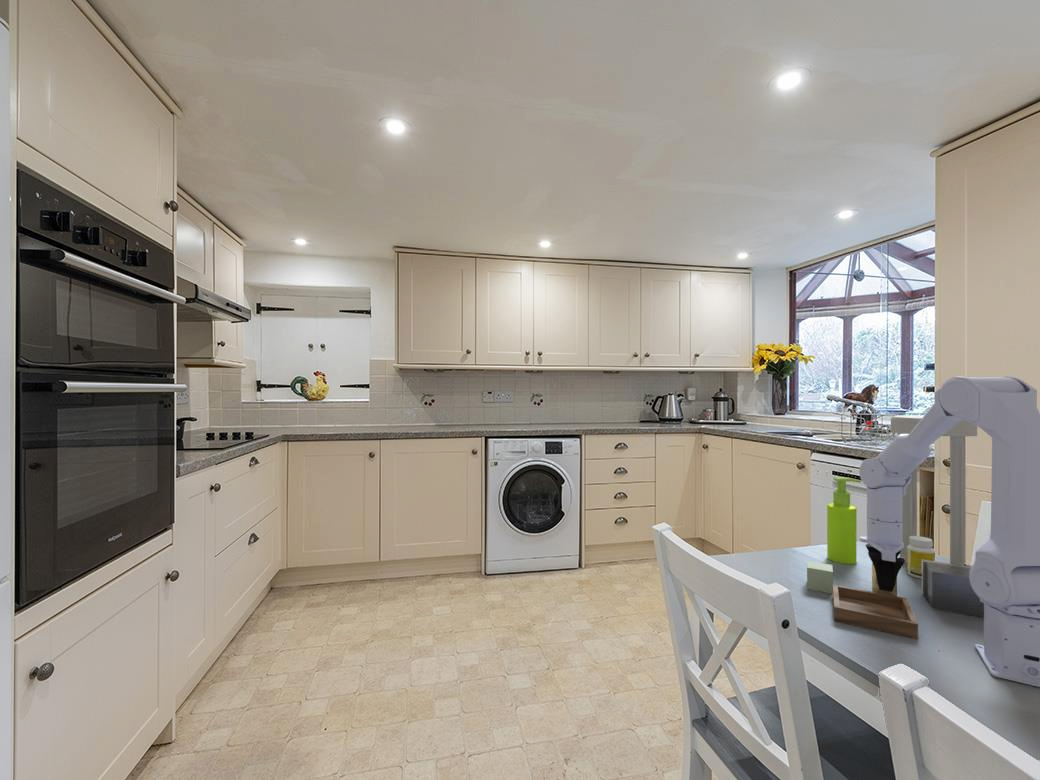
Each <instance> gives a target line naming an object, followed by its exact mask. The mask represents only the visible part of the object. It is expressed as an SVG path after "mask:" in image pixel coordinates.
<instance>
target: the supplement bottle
mask: <svg viewBox="0 0 1040 780" xmlns="http://www.w3.org/2000/svg"><path fill="white" fill-rule="evenodd" d="M933 542H934V541H933V539H931V538H930V537H925V536H920V535H917V536H910V537H909V543H910V544H909V545H908V546H907V563H906V569H907V570H906V573H907V574H908V575H909V576H911V577H913V578H916V579H919V580H922V560H929V561H936V551H935V549H934V548H933V546H934V544H933Z"/></svg>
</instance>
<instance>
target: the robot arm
mask: <svg viewBox="0 0 1040 780" xmlns="http://www.w3.org/2000/svg"><path fill="white" fill-rule="evenodd" d="M923 415H924V417H923V418H922V419H921V420H920V421H919V423H918V424H917V425H916V426H915V428H914V429H913V430H912V431H911V433H910V434H900V435H899V434H898V435H897V434H896V435H894V436H893V437H892V438H891V440H892V441H891V442H890V443H889V444H888V445H887V446H886V447H885V448H884V449H883V451H880V453H879V454H878V456H874V457H873V458H866V459H863V461H862V463H861V464H860V466H859V469H858V470H859V471H858V472H859V477H860V481H861V483H862V484H863V485H864V486H865V487H866V536H859V541H860V542H861V543H866V544H865V547H866V549H867V554H868V557H869V559H870V560H871V562H872V563H873V565H874V568H875V572H876V578H877V583H878V586H879V589H880V590H884V591H889V592H893V589H894V586H895V582H896V578H897V579H898V575H899V573H900V570H901V569H902V567H903V566H904V565H905V564H906V563H905V560H904V558H900V557H899V556H900V552H901V549H903V548H904V543H903V497H904V496H905V495H906V488H907V486H908V485H909V484H910V481H911V475H909V474H910V473H911V472H912V471H913V470H914V469H916V468H917V469H918V467H919V466H920V465H921V464H922V463H924V462H925V460H927V458H929V457H930V455H931V451H932V449H931V445H932V444H934V443H935V442H936V441H937V440H939V438H941V437H943V436H942V435H943V434H945V433H946V432H947V431H949V430H950V429H951V428H952V427H954V426H955V425H956V424H957V423H959V422H960V421H962V420H964V421H967V422H969V423H971V424H973V425H975V426H977V428H980V429H981V430H982V431H983V432H984V433H986V434H988V436H990V437H991V489H990V490H991V491H990V492H991V493H990V494H991V497H990V498H991V500H990V501H991V502H990V538H989V539H988V540H987V541H986V542H985V543H984V544H982V545H981V546H980V547H979V548H978V549H976V551H975V559H974V563H973V565H972V566H971V567H972V568H971V569H970V572H969V580H970V584H971V586H972V589H973V590H974V592H975V593H976V595H977V596H978V597H979V598H980V601H981V602H983V603H984V618H983V644H977V643H975V644H974V648H975V650H976V651H977V653H978V654H979V656H980V658H981V660H982V661H983V662H984V665H985V666H986V668H987V670H988V671H989V673H990V675H992V676H994V677H996V678H1000V679H1005V680H1009V681H1012V682H1013V681H1014V682H1017V683H1021V684H1025V685H1030V686H1034V687H1038V688H1040V411H1039V409H1038V391H1037V389H1036V388H1035V387H1033V386H1031V385H1030V384H1028V383H1027V382H1025V381H1024V380H1023V379H1021V378H1019V377H1015V376H1000V377H999V376H998V377H996V376H995V377H993V376H992V377H985V376H983V377H981V376H979V377H978V376H977V377H973V376H972V377H971V376H970V377H966V376H961V375H960V376H953V377H950V378H949V379H947V380H945V381H944V383H943V384H942V385H941V386H940V388H939V389H938V390H936V391H935V392H934V403H933V404H932V405H931V407H930V408H929V409H928V410H927V412H926V413H925V414H923ZM872 563H871V564H872Z"/></svg>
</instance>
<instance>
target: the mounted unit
mask: <svg viewBox="0 0 1040 780" xmlns="http://www.w3.org/2000/svg"><path fill="white" fill-rule="evenodd" d="M971 568H972V566H969V565H964V566H963V565H956V564H950V562H948V563H947V562H941V561H940V562H939V561H936V560H935V561H929V560H922V579H921V595H922V597H926V599H927V601H928V603H929V605H930V607H931V608H932V609H933V610H940V611H945V612H950V613H954V614H955V613H956V614H959V615H960V614H961V615H966V616H970V617H971V616H972V617H976V618H982V619H984V603H983V602H981V601H980V598H979V597H978V596H977V595H976V593H975V592H974V590H973V589H972V586H971V584H970V580H969V572H970V569H971Z"/></svg>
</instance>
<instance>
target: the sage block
mask: <svg viewBox="0 0 1040 780" xmlns="http://www.w3.org/2000/svg"><path fill="white" fill-rule="evenodd" d="M806 563H807V564H806V565H807V567H806V589H807V590H812V591H817V592H824V593H829V594H833V585H834V570H833V569H834V568H833V564H829V563H823V562H816V561H810V560H807V562H806Z"/></svg>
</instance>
